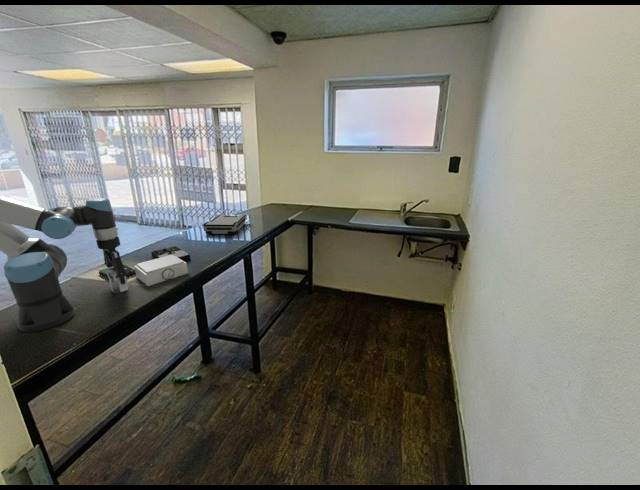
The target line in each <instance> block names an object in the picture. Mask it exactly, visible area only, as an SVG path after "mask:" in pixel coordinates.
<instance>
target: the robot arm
mask: <svg viewBox="0 0 640 490" xmlns="http://www.w3.org/2000/svg"><path fill="white" fill-rule="evenodd" d="M113 211H114V210H113V207H112V205H111V201H110V200H109V199H108V198H105V197H95V198H90V199H87V200H86V201H85V204H84V205H72V206H56V207H49V208H44V207H40V206H36V205H34V204H33V205H32V204H31V203H27V202H22V201H19V200H16V199H12V198H9V197H7V196H2V195H0V252H2V253H3V254H5V255H6V257H7V261H6V262H5V263H4V265H3V271H4V277H5V278H6V280H7V282H8V285H9V287H10V289H11V290H10V291H11V292H12V295H13V297H14V299H15V302H16V304H17V314H16V315H17V317H16V325H17V328H18V329H19V331H21V332H25V333H33V332H41V331H45V330H49V329H51V328H54V327H57V326H59V325H61V324H64V323H65V322H67V321H69V320H70V319H72V317H74V316H75V315H76V308H75V306H74V304H73V303H72V302H71V301H70V300H69V299H68V298H67V297H66V295H64V293H63V290H62V286H61V282H60V281H59V278H60V276H61V274H62V272H63V271H64V270H65V268H66V266H67V263H68V256H67V253H66V252H65V250H64V249H63V248H61V246H58V245H56V244H53V243H52V244H51V243H48V242H46V241H44V240H43V239H41V237H40V238H39V237H30V236H29V235H27V234H26V233H24V232H23V231H22V230H20V229H19V228H17V227H21V228H25V229H29V230H34V231H36V232H41V233H43V234H44V235H45V236H46V237H48V238H50V239H54V240H63V239H65V238H67V237H69V236H70V235H72V233H73V232H74V231H75V229H76V228H77V227H81V226H89V225H91V227H92V232H93V235H94V239H95V242H96V246H97V248H98V249H99V250H102V252H103V260H104V261H103V262H104V265H105V267H106V268H107V269H110V268H113V267H114V269H115V272H116V274H117V276H116V277H115V278H117V280H118V284H119V288H120V292H122V293H124V292H123V291H125V292H127V291H129V289H128V287H129V285H128V286H127V283H128V281H127V282H126V279H127V278H126V277H125V276H126V272H125V269H124V267H123V261H122V259H121V255H120V252H119V251H118V250H116V248H117V247H120V246H121V241H120V237H119V233H118V230H119V227H117V226H116V225H117V224H116V220H115V216H114V212H113ZM16 226H17V227H16ZM121 273H122V274H121ZM126 290H127V291H126Z"/></svg>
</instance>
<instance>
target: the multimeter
mask: <svg viewBox="0 0 640 490" xmlns="http://www.w3.org/2000/svg"><path fill="white" fill-rule="evenodd" d="M150 253H151V258H153V259H157V258H161V257H165V256H168V255H174V256H176V257H178V258H179V259H181V260H183V261H184V262H186V263H187V262H189V261H191V255H190V253H188V252H186V251H184V250H183V249H181V248H179V247H177V246H170V247H167V248H161V249H157V250H152V251H150Z"/></svg>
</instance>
